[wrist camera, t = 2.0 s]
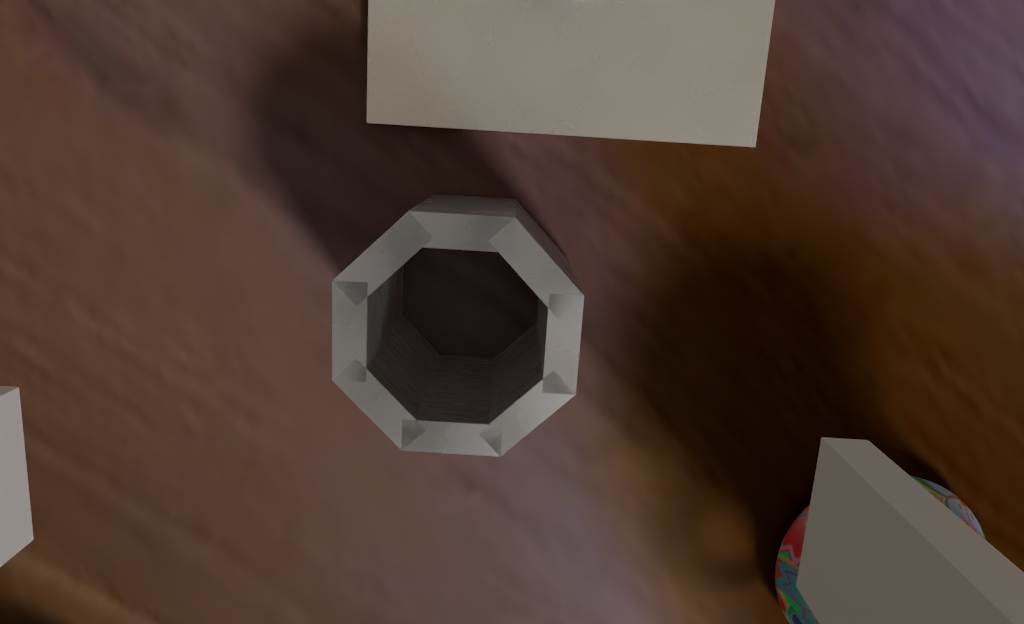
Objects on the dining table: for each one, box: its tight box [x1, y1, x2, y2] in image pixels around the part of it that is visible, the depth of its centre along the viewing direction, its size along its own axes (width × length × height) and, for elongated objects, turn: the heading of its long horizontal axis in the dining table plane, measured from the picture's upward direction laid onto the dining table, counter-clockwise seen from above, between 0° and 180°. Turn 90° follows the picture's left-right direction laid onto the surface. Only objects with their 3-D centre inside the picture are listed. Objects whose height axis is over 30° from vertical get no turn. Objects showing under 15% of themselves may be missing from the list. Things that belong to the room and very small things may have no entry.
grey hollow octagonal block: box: [332, 194, 584, 456], centre depth 25 cm, size 7×7×7 cm
